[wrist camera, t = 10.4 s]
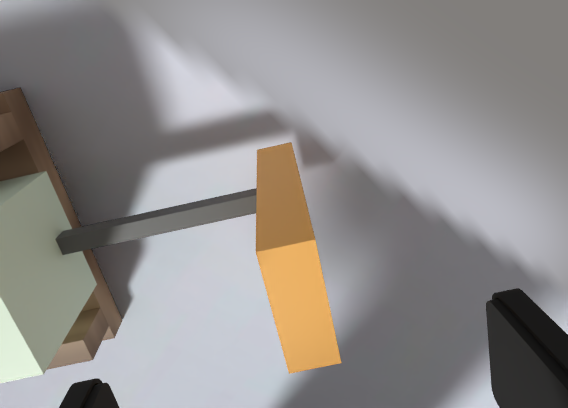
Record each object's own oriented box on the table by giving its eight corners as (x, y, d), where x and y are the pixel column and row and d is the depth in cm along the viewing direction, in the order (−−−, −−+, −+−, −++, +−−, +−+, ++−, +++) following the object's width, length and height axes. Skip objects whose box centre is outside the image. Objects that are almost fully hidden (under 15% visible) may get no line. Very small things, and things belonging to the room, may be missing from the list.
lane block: (311, 238, 22) (347, 389, 13) (-20, 309, 22) (-197, 498, 14) (285, 117, 20) (307, 202, 11) (-84, 200, 20) (-347, 345, 11)
